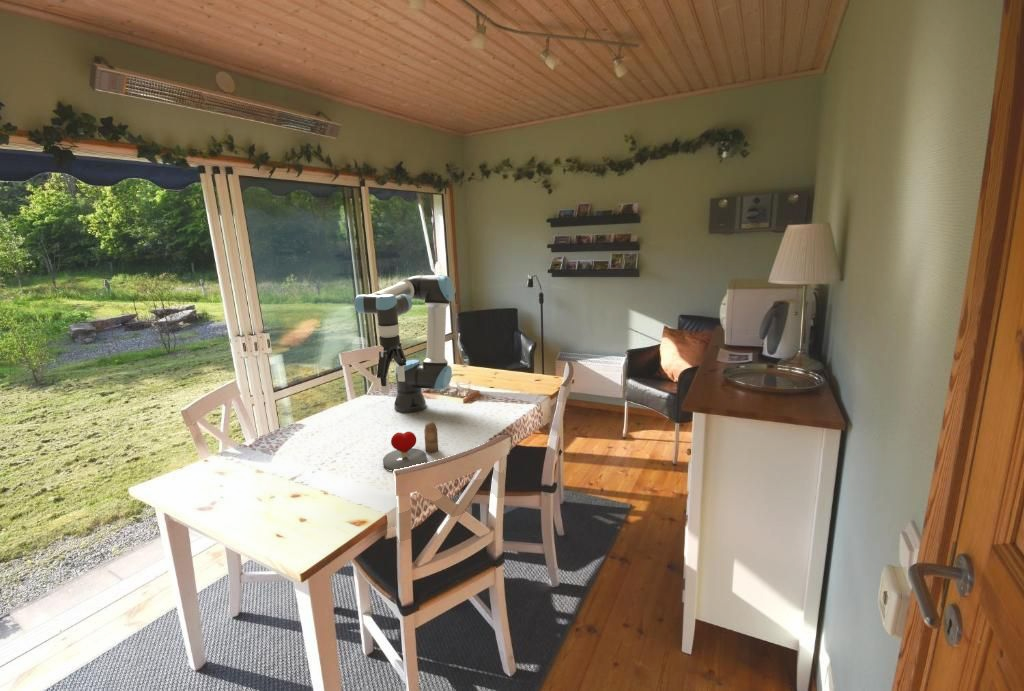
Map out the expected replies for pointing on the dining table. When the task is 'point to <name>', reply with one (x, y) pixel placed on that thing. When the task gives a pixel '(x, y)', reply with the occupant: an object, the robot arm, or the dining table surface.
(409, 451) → the disc
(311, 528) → the dining table surface
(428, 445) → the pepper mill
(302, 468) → the dining table surface
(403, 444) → the red heart
